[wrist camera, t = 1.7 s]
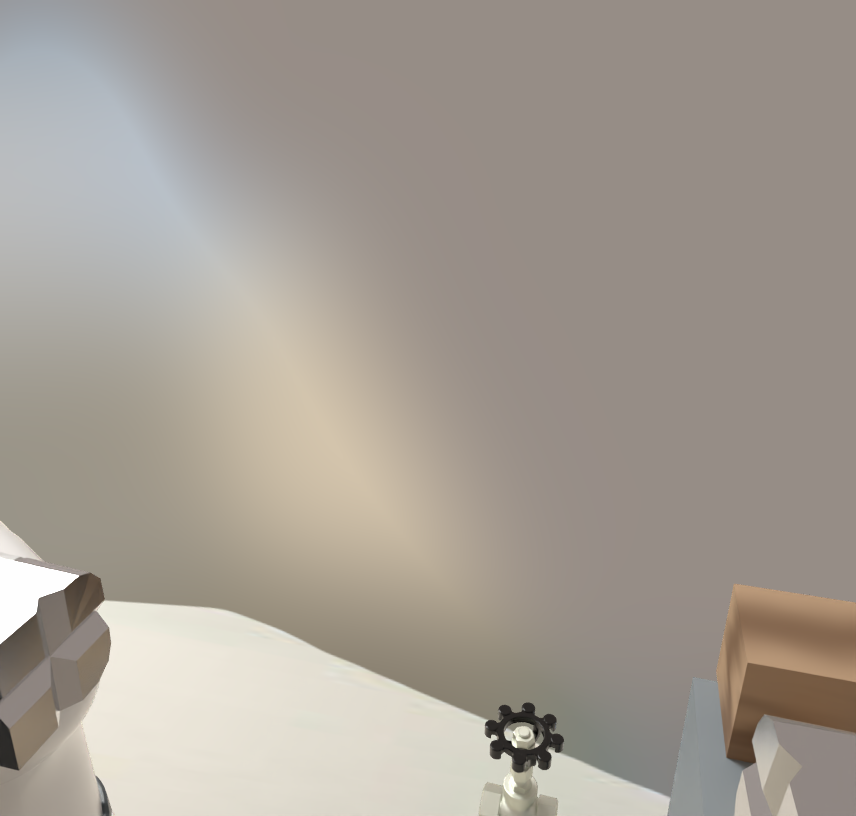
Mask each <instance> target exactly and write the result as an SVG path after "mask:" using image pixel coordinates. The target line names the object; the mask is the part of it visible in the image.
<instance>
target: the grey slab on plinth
mask: <svg viewBox="0 0 856 816" xmlns="http://www.w3.org/2000/svg"><path fill="white" fill-rule="evenodd" d="M753 764H754V763H749V762H744V761H740V760H735V759H730V758H726V751H725V742H724V733H723V725H722V716H721V707H720V699H719V690H718V682H716V681H711V680H705V679H700V678H695V677H693V681H692V687H691V692H690V697H689V702H688V708H687V714H686V719H685V724H684V729H683V735H682V740H681V745H680V751H679V756H678V761H677V767H676V772H675V777H674V783H673V788H672V794H671V799H670V804H669V809H668V815H667V816H734V813H735V802H736V793H737V789H738V785H739V782H740V778H741V774H742V771H743V770H744V769H746V768H748V767H749V766H751V765H753Z"/></svg>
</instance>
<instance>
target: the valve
mask: <svg viewBox="0 0 856 816" xmlns="http://www.w3.org/2000/svg"><path fill="white" fill-rule="evenodd" d="M498 719H499V720H501V719H502V721H501V722H499V723H497V722H496V721H494V720H489V721H487V722H486V723H485V735H486V736H487V737H488V738H491V735H496V736H497V740H494V741H492V742H491V744H490V756H491V757H492V758H494V759H501V754H502V753H503V752H505V753H507V754H508V755H509V756H511V757H512V760H511V767H510V773H509V774H508V775H507V776H506V777H505V779H504V782H503V786H501V785H497V784H492V783H488V782H487V783H486V784H485V785H484V788H483V792H482V797H481V803H480V810H479V816H557V809H558V800H557V798H553V797H549V796H544V795H540V797H539V798H538V797H537V789H538V786H537V782H536V780H535V778H534V777H533V776H532V773H533V766H535V765H536V759H537V761H538V767H539V768H540V769H542V770H547V769H549V768H550V766H551V754H550V753H549V752H548V749H549V747H553V748H555V752H556V753H559V752H561V751H562V750H563V744H564V739H563V737H562V736H561V735H560V734H551V733H550V730H549V729H551V730H552V731H554V730H555V729H556V717H555V716H554V715H551V714H547V715H545V716H544V717H543V718H539V717H537V716H535V706H534V705H533V704H532V703H524V704H523V705H522V712H519V713H514V712H512V711H511V708H510V707H509V706H507V705H502V706H500V707H499V710H498ZM517 722H526V723H530V724H532V725H534V729H533V732H532V730H531V728H528V727H524V726H519V727H518V728H517V729H516V730H515V731H514V732H513V737H512V741H508V740H506V738H505V736H504V732H505V730H506V728H507V727H508V726H509V725H511V724H513V723H517ZM541 732H542V734H543V737H544V740H543V742H542V743H541V745H539V746H538V747H536V748H535V742H536V741H537V739H538V737H539V735H540V733H541Z"/></svg>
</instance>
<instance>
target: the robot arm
mask: <svg viewBox="0 0 856 816" xmlns="http://www.w3.org/2000/svg"><path fill="white" fill-rule="evenodd" d="M104 600H105V598H104V593H103V589H102V584H101V579H100V578H98V577H97V576H95V575H93V574H92V573H89V572H85V571H81V570H77V569H73V568H68V567H64V566H60V565H56V564H52V563H47V562H44V561H43V560H42V559H41V558H40V557H39V556H38V555H37V554H36V553H35V552H34V551H33V550H32V549H31V548H30V547H29V546H28V545H27V544H26V543H25V542H24V541H23V540H22V539H21V538H20V537H18V536H17V535H15V534H14V533H13V532H11V531H10V530H9V529H8V528H7V527H6V526H5V525H4V524H3V523H2V522H1V521H0V816H115V814H114V812H112V809H111V806H110V803H109V800H108V797H107V793H106V791H105V788H104V786H103V784H102V782H101V781H100V780H99V778H98V777H97V776H96V775H95V773H94V769H93V765H92V761H91V757H90V753H89V750H88V746H87V742H86V738H85V734H84V730H83V725H82V720H83V719H84V717H85V716H86V714H87V712H88V711H89V709H90V707H91V705H92V703H93V700H94V698H95V695H96V692H97V689H98V685H99V681H100V678H101V676H102V673H103V671H104V669H105V667H106V665H107V663H108V661H109V653H110V646H111V639H110V632H109V627H108V626H107V624H106V623H105V622H104V620H103V619H102V618H101V616H100V615H99V614H98V612H97V610H98V608H99V607H100V606H101V604H102V603H103V601H104ZM752 743H753V748H754V752H755V757H756V763H754V764H753V765H751V766H749V767H748V768H746V769H744V770H743V771H742V774H741V778H740V782H739V785H738V789H737V793H736V802H735V813H734V816H856V733H854V732H849V731H844V730H839V729H834V728H829V727H824V726H819V725H815V724H810V723H805V722H800V721H795V720H790V719H785V718H780V717H775V716H770V715H765V714H764V716H763V717H762V718H761V720H760V721H759V722H758V724H757V727H756V730H755V733H754V736H753V739H752Z"/></svg>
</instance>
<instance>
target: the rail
mask: <svg viewBox="0 0 856 816" xmlns="http://www.w3.org/2000/svg"><path fill="white" fill-rule="evenodd" d="M716 672H717V681H718V690H719V699H720V707H721V716H722V725H723V733H724V742H725V751H726V758H730V759H735V760H740V761H744V762H749V763H756V757H755V752H754V748H753V743H752V739H753V736H754V733H755V730H756V727H757V724H758V722H759V721H760V720H761V718H762V717H763V716H764V714H765V715H770V716H775V717H780V718H785V719H790V720H795V721H800V722H805V723H810V724H815V725H819V726H824V727H829V728H834V729H839V730H844V731H849V732H854V733H856V603H854V602H847V601H841V600H835V599H829V598H822V597H816V596H809V595H802V594H796V593H790V592H784V591H778V590H771V589H765V588H758V587H752V586H746V585H739V584H734V587H733V591H732V596H731V601H730V606H729V611H728V616H727V621H726V626H725V631H724V636H723V641H722V646H721V651H720V655H719V661H718V665H717V670H716Z"/></svg>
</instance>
